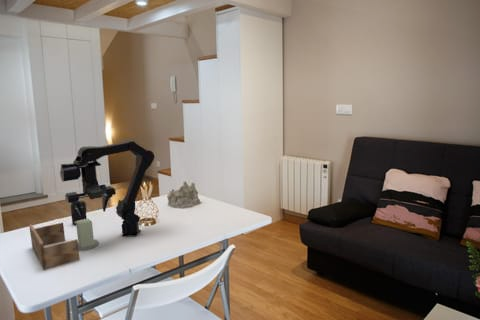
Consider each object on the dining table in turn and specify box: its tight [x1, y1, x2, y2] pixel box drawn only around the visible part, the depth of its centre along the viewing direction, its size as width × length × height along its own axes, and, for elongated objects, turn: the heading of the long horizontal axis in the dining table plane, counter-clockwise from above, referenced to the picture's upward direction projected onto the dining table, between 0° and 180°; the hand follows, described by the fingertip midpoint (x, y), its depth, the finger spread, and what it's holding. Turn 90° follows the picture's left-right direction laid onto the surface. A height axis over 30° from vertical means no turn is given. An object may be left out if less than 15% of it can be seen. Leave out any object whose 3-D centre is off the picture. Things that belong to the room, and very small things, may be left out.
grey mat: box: [78, 239, 100, 251], centre depth 154 cm, size 10×10×1 cm
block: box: [75, 218, 95, 248], centre depth 153 cm, size 5×5×10 cm
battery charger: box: [69, 199, 88, 226], centre depth 179 cm, size 7×4×11 cm, turn 126°
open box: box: [28, 222, 81, 270], centre depth 146 cm, size 12×25×10 cm, turn 37°
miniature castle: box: [166, 180, 201, 209], centre depth 207 cm, size 16×16×15 cm
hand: (92, 213), depth 154 cm, fingers open, 9 cm apart
